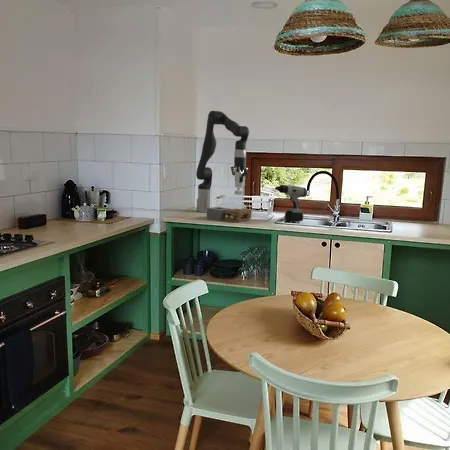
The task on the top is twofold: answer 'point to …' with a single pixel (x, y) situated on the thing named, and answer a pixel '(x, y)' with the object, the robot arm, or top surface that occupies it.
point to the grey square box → (216, 213)
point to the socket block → (237, 215)
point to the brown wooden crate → (241, 215)
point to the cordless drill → (294, 194)
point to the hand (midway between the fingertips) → (238, 182)
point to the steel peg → (238, 183)
